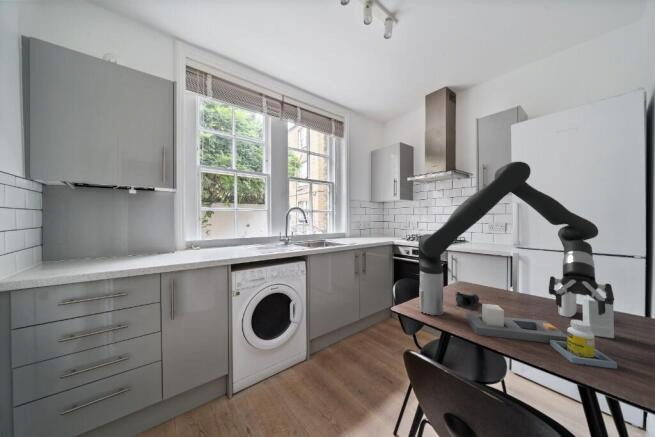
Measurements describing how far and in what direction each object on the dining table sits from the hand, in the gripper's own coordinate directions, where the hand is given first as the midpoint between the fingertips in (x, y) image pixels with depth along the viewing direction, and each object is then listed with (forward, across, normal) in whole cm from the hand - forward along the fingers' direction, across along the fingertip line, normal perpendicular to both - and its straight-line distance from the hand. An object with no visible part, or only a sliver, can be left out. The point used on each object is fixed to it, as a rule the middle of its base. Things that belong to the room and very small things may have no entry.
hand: (579, 309), depth 73 cm
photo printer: (-14, -3, +31) cm, 34 cm away
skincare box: (-2, +5, +19) cm, 20 cm away
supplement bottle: (+13, 0, +3) cm, 14 cm away
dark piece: (-2, -34, +18) cm, 39 cm away
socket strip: (+10, -16, +6) cm, 20 cm away
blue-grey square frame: (+13, 0, +3) cm, 13 cm away
